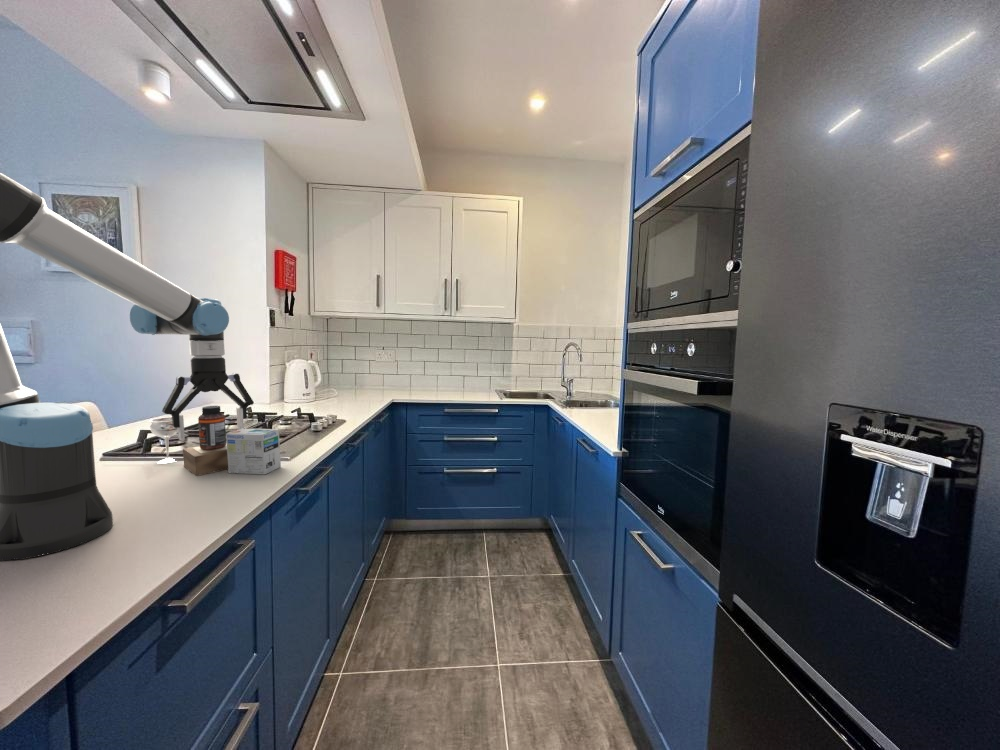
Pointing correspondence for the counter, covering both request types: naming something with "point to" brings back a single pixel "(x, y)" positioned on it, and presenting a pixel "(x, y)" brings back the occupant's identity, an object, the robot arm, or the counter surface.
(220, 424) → the supplement bottle
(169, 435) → the wineglass
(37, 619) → the counter surface
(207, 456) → the walnut riser
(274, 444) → the light bulb box
